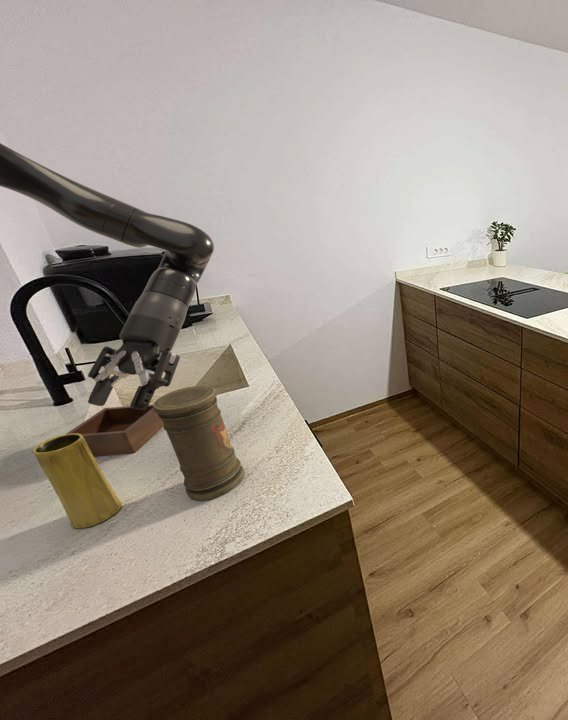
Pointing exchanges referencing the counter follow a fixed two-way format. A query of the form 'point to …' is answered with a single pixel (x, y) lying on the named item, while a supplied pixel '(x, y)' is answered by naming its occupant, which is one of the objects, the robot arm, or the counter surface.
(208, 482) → the container
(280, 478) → the counter surface
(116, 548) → the counter surface
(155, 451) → the counter surface
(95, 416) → the tray
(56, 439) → the vase
